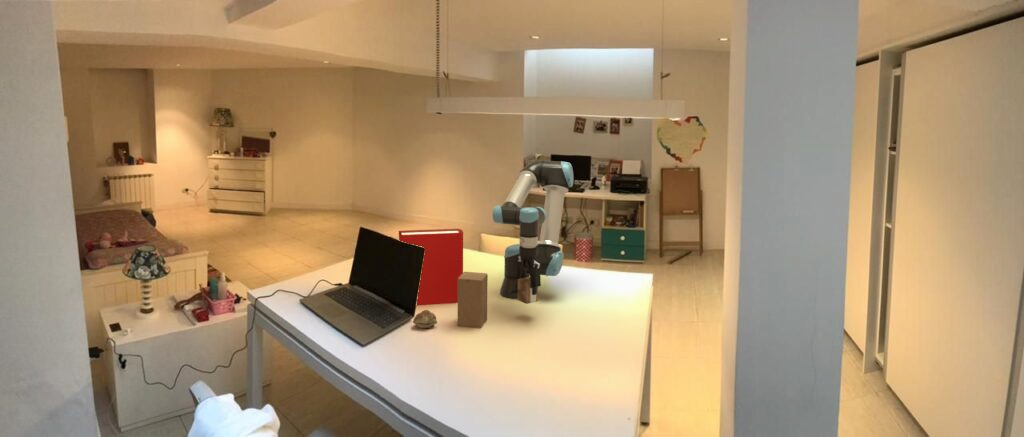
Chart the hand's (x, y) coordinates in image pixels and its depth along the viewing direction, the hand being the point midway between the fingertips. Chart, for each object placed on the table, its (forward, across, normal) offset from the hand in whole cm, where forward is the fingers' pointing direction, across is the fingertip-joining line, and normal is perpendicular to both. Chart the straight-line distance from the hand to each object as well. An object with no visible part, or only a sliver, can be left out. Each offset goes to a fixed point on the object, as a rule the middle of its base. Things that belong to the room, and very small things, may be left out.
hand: (527, 299), depth 260 cm
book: (+8, -40, -23) cm, 46 cm away
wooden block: (+8, -8, -23) cm, 25 cm away
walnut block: (0, 0, 0) cm, 0 cm away
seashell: (+7, -14, -41) cm, 44 cm away
